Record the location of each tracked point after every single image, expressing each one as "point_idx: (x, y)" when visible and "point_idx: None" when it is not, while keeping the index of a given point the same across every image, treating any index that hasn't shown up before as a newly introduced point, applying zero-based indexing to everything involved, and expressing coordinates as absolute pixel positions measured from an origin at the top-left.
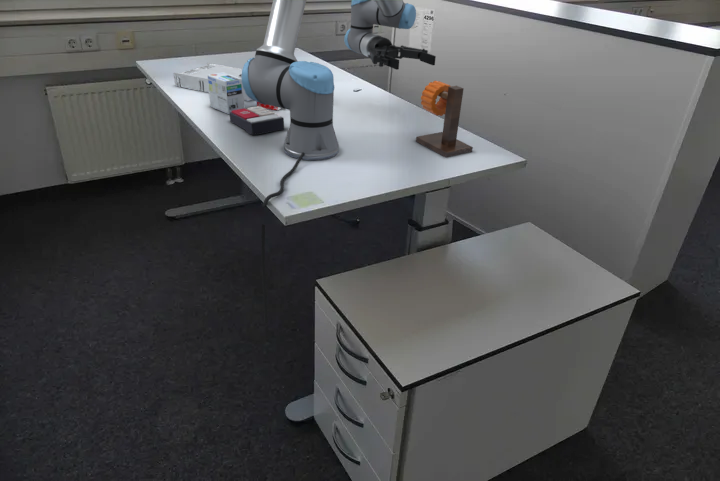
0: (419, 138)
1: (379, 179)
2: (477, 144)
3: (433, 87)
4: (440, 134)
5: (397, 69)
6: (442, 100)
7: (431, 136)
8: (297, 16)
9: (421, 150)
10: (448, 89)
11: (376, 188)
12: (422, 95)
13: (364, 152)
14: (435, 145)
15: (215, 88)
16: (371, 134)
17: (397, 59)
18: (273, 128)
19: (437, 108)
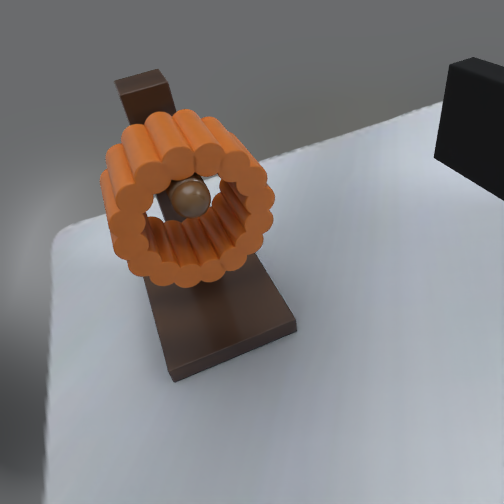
0: (286, 304)
1: (421, 142)
2: (86, 316)
3: (212, 133)
4: (189, 343)
5: (444, 152)
6: (153, 239)
7: (233, 323)
8: None
9: (294, 265)
10: (170, 92)
11: (424, 121)
12: (265, 186)
13: (488, 242)
14: (248, 255)
15: None
16: (501, 402)
17: (475, 70)
18: None
19: (213, 199)
